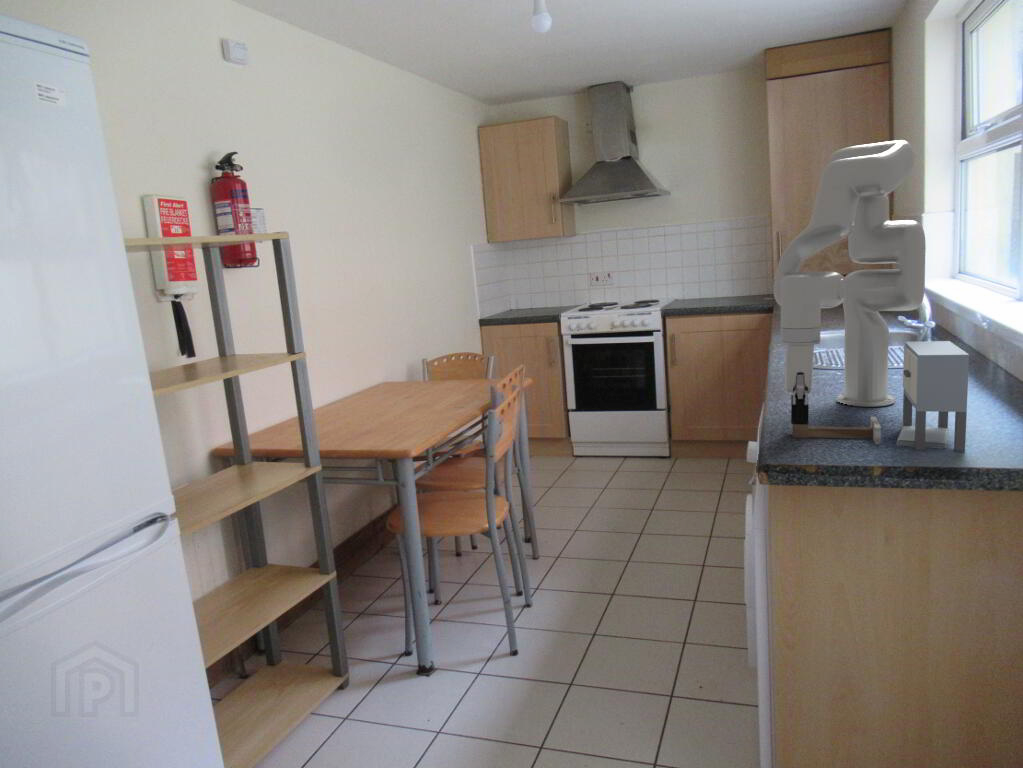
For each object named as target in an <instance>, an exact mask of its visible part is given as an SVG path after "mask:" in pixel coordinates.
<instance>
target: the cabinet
mask: <svg viewBox="0 0 1023 768" xmlns="http://www.w3.org/2000/svg"><path fill="white" fill-rule="evenodd" d="M969 364H970V354H969V353H967V352H966V351H965V350H963V349H961V348H960V347H959V346H958V345H956V344H954V343H953V342H952V341H950V340H945V341H944V340H938V341H937V340H932V341H929V340H926V341H904V345H903V364H902V365H903V368H902V370H903V371H902V388H903V398H902V401H903V402H902V403H903V405H902V406H903V407H902V426H913V408H914V409H915V419H914V421H915V425H914V426H915V446H914V450H915V451H916V450H925V451H926V447H925V429H926V427H927V424H926V423H927V421H926V420H927V412H932V413H933V412H935V413H936V412H937V413H938V414H937V415H938V418H937V419H938V420H937V428H947V429H948V430H949V412H950V413H951V412H952V413H953V412H954V413H955V416H954V437H953V440H954V441H953V444H954V445H953V450H954V452H955V451H960V453H964V452H965V453H966V440H967V439H966V435H967V433H966V432H967V415H968V414H967V413H968V391H969V390H968V388H969V387H968V384H969V367H970V365H969Z"/></svg>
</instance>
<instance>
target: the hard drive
mask: <svg viewBox="0 0 1023 768" xmlns="http://www.w3.org/2000/svg"><path fill="white" fill-rule="evenodd" d="M948 433H949V428H948V429H947V428H938V426H937V427H934V426H926V429H925V448H929V447H933V449H943V448H946V449H947V443H948V436H949V435H948ZM901 445H907V446H906V447H915V425H912V426H903V425H902V427H901V429H900V432H899V434H898V438H897V440H896V446H901Z"/></svg>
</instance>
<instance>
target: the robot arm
mask: <svg viewBox="0 0 1023 768" xmlns="http://www.w3.org/2000/svg"><path fill="white" fill-rule="evenodd" d="M914 164H915V151H914V148H913V146H912V144H911V143H909V142H908V141H906V140H903V139H900V140H899V139H898V140H890V141H883V142H876V143H867V144H865V143H864V144H860V145H853V146H848V147H844V148H841V149H838V150H836V151H834V152H833V153H832V154H831V156H830V157H829V160H828V164H827V165H826V166H825V167H824V169H822V173H821V175H820V179H819V184H818V188H817V192H816V196H815V199H814V200H815V201H814V205H813V208H812V209H813V210H812V213H811V218H810V221H809V224H808V225H807V227H805V228H804V229H803V230H802V231H801V232H799V233H798V235H797V236H796V237H794V239H793V240H792V241H791V242H790V243H789V244H788V245H787V246H786V248H785V249H784V251H783V252H782V254H781V256H780V258H779V261H778V265H777V269H776V273H775V277H774V284H773V297H774V299H775V301H776V303H777V305H779V306H780V344H781V345H784V346H785V354H784V355H785V356H784V357H785V360H784V362H785V364H784V376H785V377H784V389H785V390H784V392H785V393H786V394H789V392H792V394H791V397H790V398H791V401H790V402H791V403H790V405H791V408H790V409H791V411H790V412H791V413H790V414H791V415H790V417H791V418H790V422H791V425H793V424H801V425H807V424H808V425H809V416H810V415H809V412H810V409H809V408H810V407H809V405H810V404H809V403H808V404H807V401H808V396H809V395H808V394H810V393H811V392H812V384H813V379H814V378H813V376H814V375H813V374H814V355H815V354H814V352H815V345H819V344H821V323H822V320H821V319H822V317H821V313H822V309H832V308H836V307H838V306H840V305H841V304H842V307H843V316H844V360H843V361H844V371H843V372H844V373H843V377H844V379H843V382H844V384H843V393H840V394H838V395H837V397H836V402H838V403H839V402H840V403H839V404H841V403H843V404H842V405H845V404H847V406H851V405H852V406H853V407H866V408H867V407H869V408H870V407H871V408H872V407H873V408H875V407H885V406H891V405H893V404H894V403H895V401H896V398H895V396H893V395H891V394H888V385H889V384H888V383H889V381H888V380H889V345H890V343H889V341H890V340H889V339H890V331H889V326H888V323H887V322H886V320H885V319H884V318H883V316H882V315H881V314H880V312H886V311H887V312H901V311H902V312H904V311H905V312H906V311H907V312H908V311H914V310H916V309H918V308H919V307H921V305H922V304H923V300H924V296H925V290H926V288H925V287H926V283H925V282H926V250H927V249H926V236H925V231H924V228H923V226H922V225H921V223H920V222H918V221H916V220H912V219H911V220H909V219H906V220H905V219H904V220H903V219H901V220H890V200H889V196H888V195H889V194H890V193H892V192H894V191H895V190H896V189H897V188H898V187H899V186H900V185H901V184H902V183H904V181H906V180H907V179H908V177H909V176H910V174H911V173H912V171H913V168H914ZM845 238H848V240H847V243H848V245H847V247H848V249H847V250H848V254H849V258H850V260H851V261H852V262H853V263H856V264H864V265H876V264H878V265H880V264H897V265H898V267H899V268H897V269H895V268H893V269H892V268H891V269H883V268H882V269H881V268H880V269H878V268H877V269H861V270H855V271H853V272H850V273H848V274H846V276H844V275H842V274H841V273H839V272H837V271H830V270H829V271H827V270H826V271H799V269H800V268H801V266H802V264H803V263H804V262H805V261H806V260H807V259H808V258H810V257H811V256H812V255H814V254H815V253H817V252H819V251H822V250H823V249H825V248H827V247H830V246H832V245H833V244H836V243H837V242H840V241H841V240H844V239H845ZM808 402H809V401H808ZM795 403H796V404H795ZM804 403H805V404H804Z"/></svg>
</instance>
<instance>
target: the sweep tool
mask: <svg viewBox="0 0 1023 768" xmlns="http://www.w3.org/2000/svg"><path fill="white" fill-rule="evenodd" d="M795 404H796V403H795ZM804 404H805V403H804ZM807 404H809V401H807ZM869 420H870V421H869V427H856V426H855V427H850V426H847V427H846V426H809V423H808V424H807V425H801V424H792V439H793V438H795V439H796V438H798V439H799V438H801V439H805V438H806V439H808V438H824V439H825V438H827V437H828V439H829V438H831V439H833V438H834V439H835V438H836V439H866V438H872V440H873V442H875V443H874V444H875V445H881V444H882V443H881V441H882V427H881V425H880V423H879V421H878V418H877V416H874V415H873V416H872V415H871V416H870V419H869Z"/></svg>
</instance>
